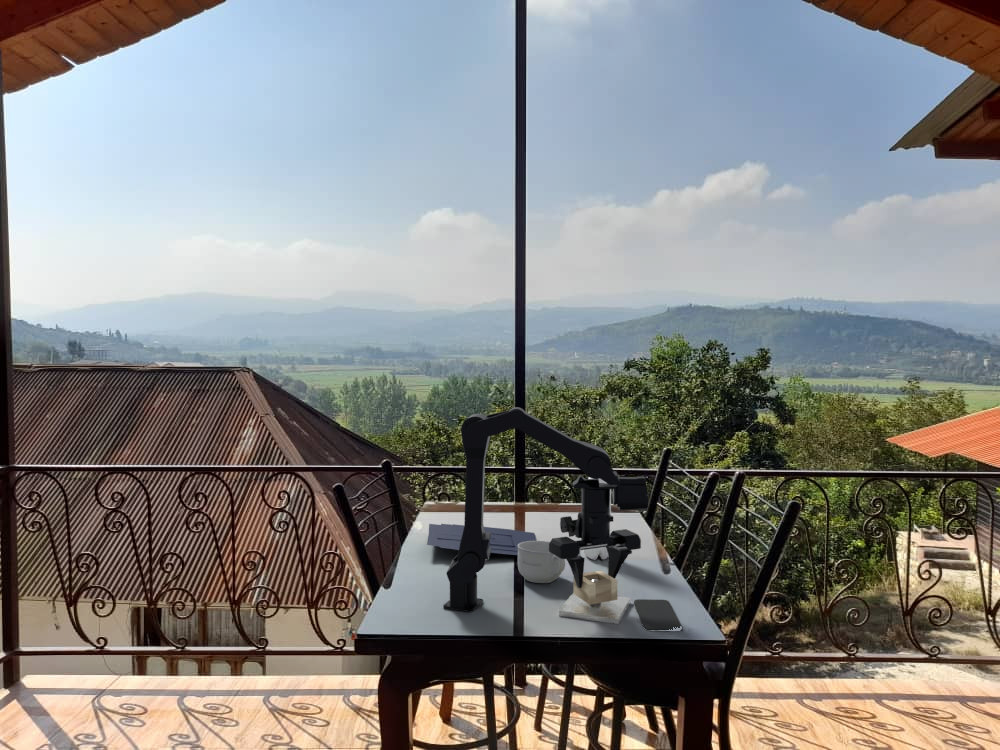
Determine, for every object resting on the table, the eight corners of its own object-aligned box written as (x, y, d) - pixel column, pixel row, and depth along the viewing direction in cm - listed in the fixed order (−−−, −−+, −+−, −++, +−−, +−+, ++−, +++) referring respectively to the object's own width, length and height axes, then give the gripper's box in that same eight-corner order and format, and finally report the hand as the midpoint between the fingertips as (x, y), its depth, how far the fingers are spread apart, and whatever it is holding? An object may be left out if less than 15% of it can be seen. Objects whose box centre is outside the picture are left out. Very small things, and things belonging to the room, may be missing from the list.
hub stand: (618, 624, 136) (618, 592, 136) (558, 615, 141) (558, 585, 140) (630, 602, 147) (630, 573, 147) (574, 595, 152) (574, 566, 151)
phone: (644, 629, 133) (632, 599, 148) (644, 633, 133) (632, 603, 148) (684, 629, 133) (668, 599, 148) (683, 634, 133) (668, 603, 148)
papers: (428, 531, 198) (429, 518, 198) (532, 541, 201) (534, 529, 201) (425, 558, 174) (426, 543, 174) (544, 569, 177) (546, 555, 176)
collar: (617, 599, 142) (617, 580, 142) (589, 604, 140) (589, 584, 139) (600, 589, 148) (600, 570, 148) (573, 593, 146) (573, 574, 145)
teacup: (510, 574, 165) (510, 541, 165) (552, 569, 169) (552, 536, 169) (534, 594, 152) (534, 558, 152) (578, 588, 156) (579, 552, 156)
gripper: (613, 497, 154) (612, 567, 155) (537, 505, 147) (536, 578, 148) (642, 508, 144) (642, 583, 145) (562, 517, 137) (562, 596, 137)
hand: (595, 585), depth 144 cm, fingers open, 7 cm apart
